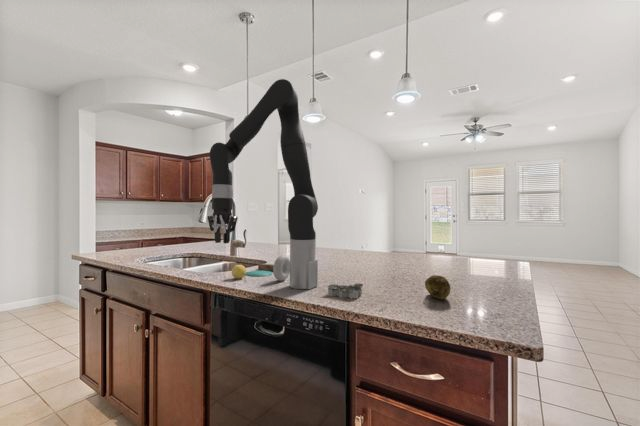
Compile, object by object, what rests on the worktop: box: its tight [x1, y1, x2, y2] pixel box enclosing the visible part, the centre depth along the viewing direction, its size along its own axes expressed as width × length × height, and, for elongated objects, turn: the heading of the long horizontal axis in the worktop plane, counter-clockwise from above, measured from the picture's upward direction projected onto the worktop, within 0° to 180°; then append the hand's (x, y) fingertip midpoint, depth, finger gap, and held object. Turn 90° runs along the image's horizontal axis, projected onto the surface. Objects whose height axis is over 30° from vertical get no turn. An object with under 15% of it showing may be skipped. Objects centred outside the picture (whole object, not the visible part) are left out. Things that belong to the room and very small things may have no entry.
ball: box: [231, 264, 247, 280], centre depth 124 cm, size 6×6×6 cm
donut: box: [272, 254, 290, 282], centre depth 121 cm, size 10×4×10 cm, turn 155°
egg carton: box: [327, 283, 364, 300], centre depth 101 cm, size 11×8×4 cm
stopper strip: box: [257, 262, 274, 272], centre depth 142 cm, size 14×2×2 cm, turn 61°
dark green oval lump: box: [424, 274, 451, 300], centre depth 97 cm, size 8×13×8 cm, turn 149°
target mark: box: [245, 270, 273, 277], centre depth 134 cm, size 12×12×1 cm
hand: (222, 242), depth 116 cm, fingers open, 3 cm apart
